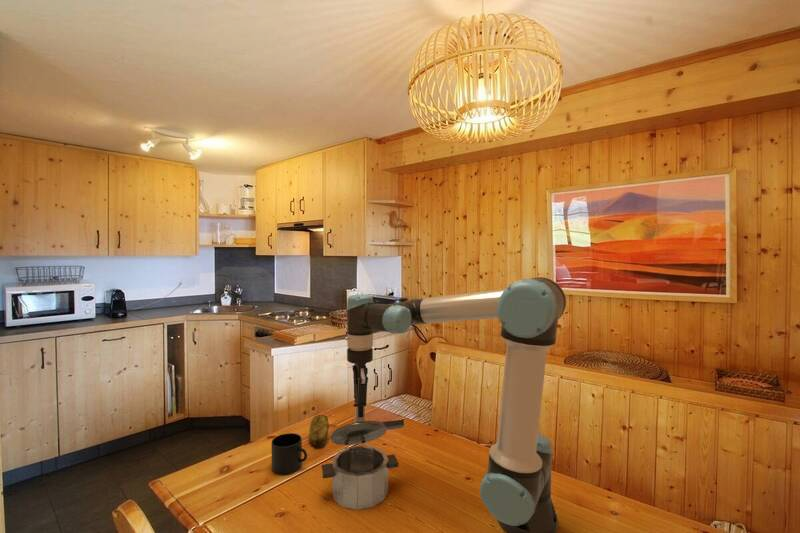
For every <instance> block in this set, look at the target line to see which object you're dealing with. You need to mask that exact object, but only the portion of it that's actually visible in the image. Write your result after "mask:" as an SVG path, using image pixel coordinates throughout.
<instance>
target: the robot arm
mask: <svg viewBox="0 0 800 533" xmlns="http://www.w3.org/2000/svg"><path fill="white" fill-rule="evenodd" d="M346 303H347V304H346V322H347V323H346V324H347V325H346V326H347V328H346V329H347V331H346V332H347V334H346V335H347V336H345V338H344V340H345V341H347V343H346V346H347V350H346V354H347V355H346V360H347V362H348V363H350V364H353V365H352V366H351V368H352V376H353V399H354V403H353V407H354V423H356V422H362V421H366V407H367V398H368V397H367V395H368V382H369V377H368V373H369V372H368V371H369V370H368V367H367V365H366V364H368V363H371V362H372V361H373V359H374V356H373V355H374V354H373V352H374V349H373V346H374V331H379V332H385V333H389V334H390V333H391V334H405V333H406V332H407V331H408V329H409V328H410V327H411V326H414V325H425V324H426V325H427V324H437V323H449V322H450V323H451V322H461V321H462V322H463V321H465V322H466V321H476V320H490V319H491V320H492V319H498V320H499V322H500V324H501V328H500V338H501V339H502V340H503V341H504V343H505V344H506V348H505V349H506V350H505V359H504V369H503V370H504V371H503V378H502V388H501V398H500V410H499V419H498V420H499V421H498V429H497V440H496V441H497V442H496V443H494V444H492V445H491V446H490V447H489V452H488V461H487V462H488V463H487V471H486V474H485V475H484V477H483V478H482V480H481V481H480V482H481V483H480V485H479V486H480V487H479V496H480V498H481V499H480V500H481V501H482V503H483V506H484V507H485V508H486V509H487V510H488V512H489V514H490V515H491V516H492V517H494V518H495V519H496V520H497V522H498V524H499V526H501V528H502V529H503V530H504V531H505V532H506V533H558V527H559V525H558V524H559V523H558V522H559V520H558V515H557V512H556V510H555V506H554V503H553V500H552V462H553V461H552V460H553V459H552V455H553V449H552V442H551V440H550V439H549V438H548V437H547V436H545V435H543V434H542V433H539V428H540V420H541V410H542V409H541V408H542V402H543V399H542V398H543V393H544V383H545V382H544V381H545V373H546V363H547V362H546V361H547V355H548V351H549V350H550V349H551V348H553V347H554V346H556V340H557V333H558V332H557V331H558V323H559V319H561V317H562V316H563V314H564V312H565V310H566V308H567V297H566V294H565V292H564V290H563V289H562V287H561V286H560V285H559V284H558V283H557V282H555V281H554V280H552V279H550V278H548V277H543V276H541V277H532V278H525V279H519V280H518V281H514V282H512V283H511V284H508V285H507V287H506V288H502V289H493V290H483V291H477V292H468V293H461V294H460V293H458V294H450V295H442V296H434V297H426V298H413V299H409V300H405V301H399V302H394V303H389V304H387V303H386V304H385V303H375V302H374V298H373V296H372V295H370V294H361V293H360V294H352V295H351V294H350V295H349V296H348V297H347V302H346Z"/></svg>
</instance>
